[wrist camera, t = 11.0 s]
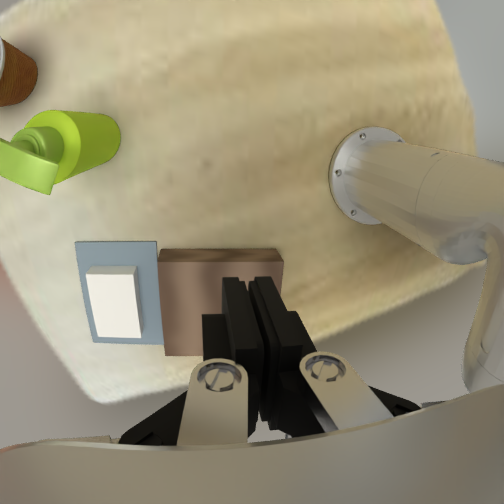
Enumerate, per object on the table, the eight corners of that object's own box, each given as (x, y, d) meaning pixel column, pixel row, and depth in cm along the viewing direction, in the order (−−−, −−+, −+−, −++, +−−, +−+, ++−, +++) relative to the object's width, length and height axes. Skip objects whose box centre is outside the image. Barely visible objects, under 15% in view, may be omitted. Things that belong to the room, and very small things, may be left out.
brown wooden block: (275, 248, 40) (283, 261, 37) (267, 335, 45) (273, 352, 41) (160, 248, 38) (157, 262, 34) (167, 337, 43) (165, 355, 39)
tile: (85, 274, 35) (91, 265, 37) (97, 336, 38) (102, 326, 40) (133, 274, 36) (136, 265, 38) (141, 338, 39) (143, 327, 41)
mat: (156, 241, 38) (156, 241, 37) (164, 343, 43) (164, 344, 43) (75, 241, 36) (74, 242, 36) (93, 341, 41) (93, 342, 41)
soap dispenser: (116, 175, 34) (37, 229, 16) (66, 154, 32) (-41, 188, 14) (137, 128, 32) (68, 131, 14) (85, 107, 30) (-17, 97, 12)
